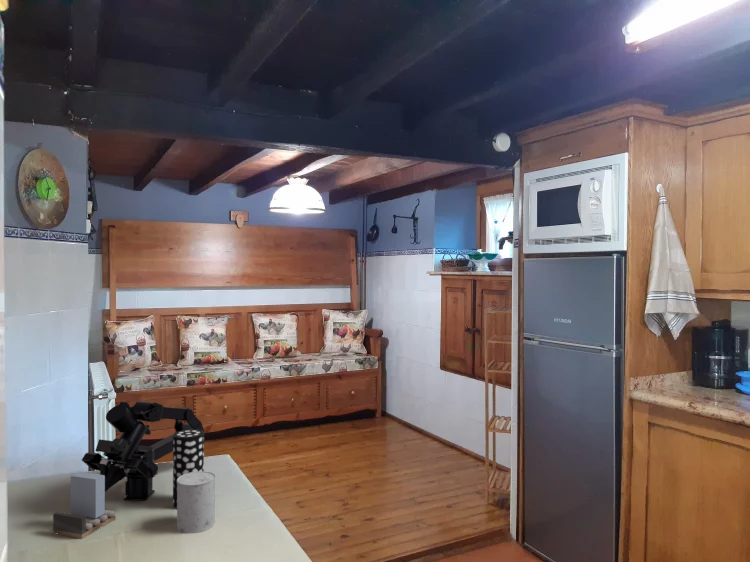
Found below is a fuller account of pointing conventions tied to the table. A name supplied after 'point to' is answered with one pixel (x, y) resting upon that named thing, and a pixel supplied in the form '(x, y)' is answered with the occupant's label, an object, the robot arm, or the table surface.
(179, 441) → the spotted tube
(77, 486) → the slab
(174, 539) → the table surface
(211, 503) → the speckled concrete cylinder
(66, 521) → the roller track
